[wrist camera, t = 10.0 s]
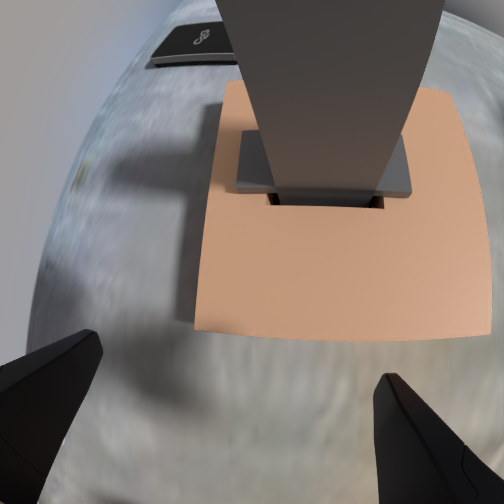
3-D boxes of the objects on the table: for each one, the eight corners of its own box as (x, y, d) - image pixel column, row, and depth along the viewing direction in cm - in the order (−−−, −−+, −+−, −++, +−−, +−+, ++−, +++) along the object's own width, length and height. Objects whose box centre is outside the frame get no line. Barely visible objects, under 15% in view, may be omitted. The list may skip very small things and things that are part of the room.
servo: (388, 165, 18) (458, -60, 2) (394, 216, 17) (526, -14, 1) (254, 161, 20) (155, -64, 4) (250, 211, 19) (100, -28, 3)
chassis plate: (467, 332, 15) (490, 333, 12) (211, 327, 18) (193, 329, 15) (438, 113, 18) (449, 92, 15) (236, 104, 22) (227, 81, 19)
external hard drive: (241, 68, 23) (237, 53, 22) (154, 70, 26) (147, 59, 24) (262, 32, 24) (259, 19, 22) (180, 36, 27) (174, 25, 25)
